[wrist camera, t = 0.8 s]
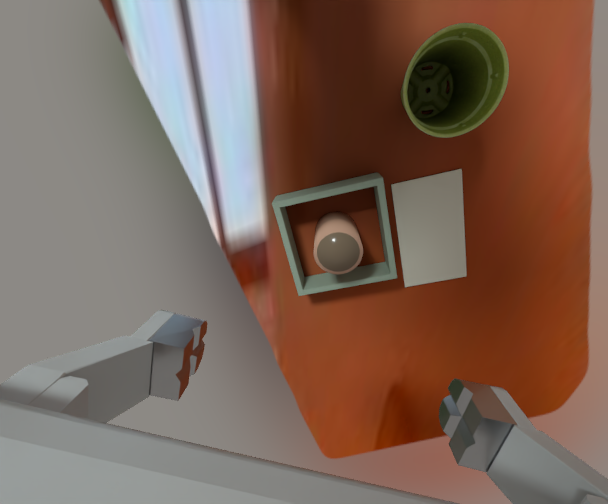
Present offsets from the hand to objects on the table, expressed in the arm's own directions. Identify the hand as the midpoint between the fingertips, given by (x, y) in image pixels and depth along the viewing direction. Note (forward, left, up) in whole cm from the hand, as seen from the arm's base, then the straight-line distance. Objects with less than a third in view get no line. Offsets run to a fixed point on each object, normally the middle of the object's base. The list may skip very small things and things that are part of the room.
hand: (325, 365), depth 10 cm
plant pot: (-7, +14, -34) cm, 38 cm away
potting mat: (+11, +13, -34) cm, 38 cm away
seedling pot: (+8, 0, -34) cm, 35 cm away
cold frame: (+8, 0, -34) cm, 35 cm away
